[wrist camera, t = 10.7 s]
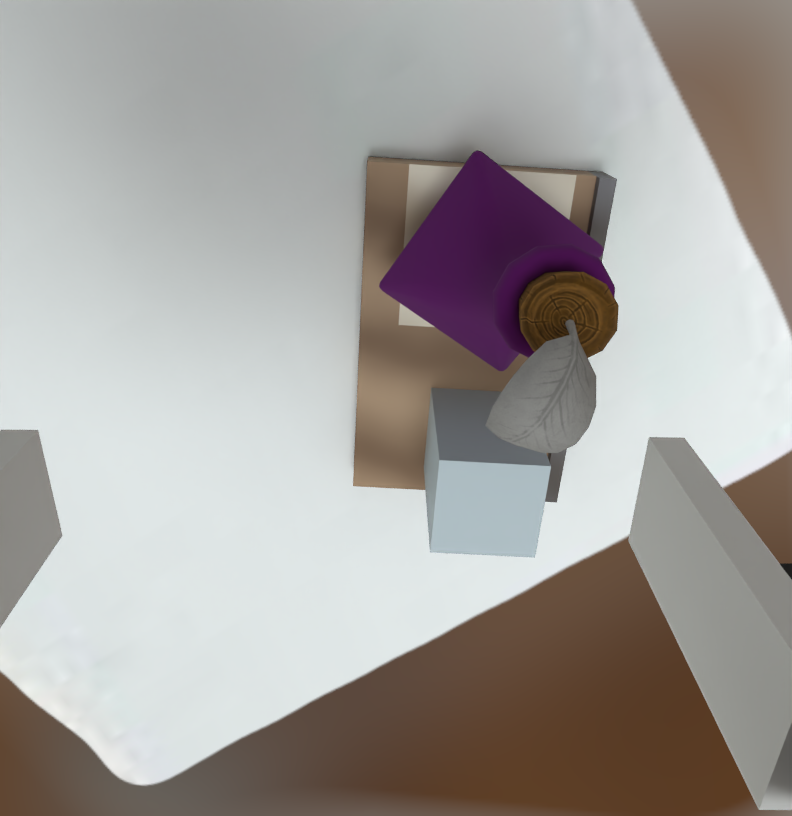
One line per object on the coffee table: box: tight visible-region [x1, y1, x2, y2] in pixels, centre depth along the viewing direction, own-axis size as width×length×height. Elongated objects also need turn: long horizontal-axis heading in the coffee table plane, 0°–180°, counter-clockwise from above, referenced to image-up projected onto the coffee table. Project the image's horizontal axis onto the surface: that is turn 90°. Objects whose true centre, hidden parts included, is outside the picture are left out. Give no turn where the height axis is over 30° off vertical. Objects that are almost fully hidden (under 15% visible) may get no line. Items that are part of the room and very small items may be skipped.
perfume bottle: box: [379, 151, 618, 453], centre depth 28 cm, size 8×8×18 cm
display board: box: [353, 157, 617, 502], centre depth 39 cm, size 18×12×3 cm, turn 176°
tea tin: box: [424, 388, 551, 557], centre depth 37 cm, size 5×5×8 cm
